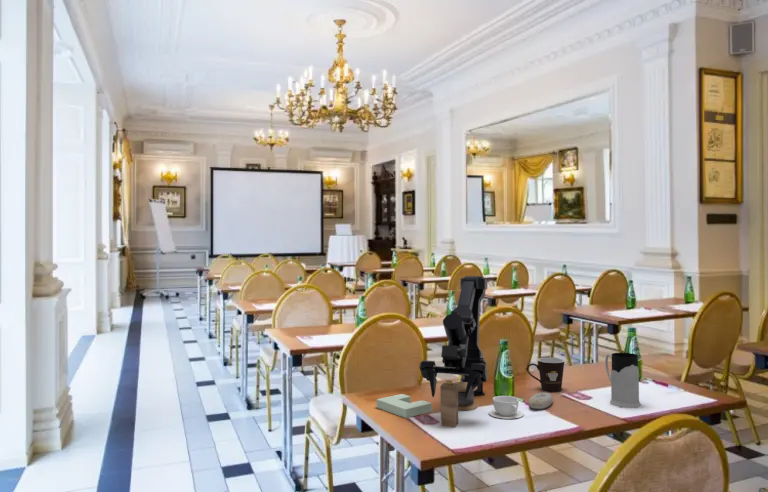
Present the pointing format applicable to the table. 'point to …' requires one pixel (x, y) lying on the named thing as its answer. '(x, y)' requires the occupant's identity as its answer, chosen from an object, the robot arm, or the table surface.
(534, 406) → the decorative stone
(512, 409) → the teacup
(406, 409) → the notched board
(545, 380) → the coffee mug
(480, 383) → the robot arm
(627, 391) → the glass holder
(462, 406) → the spool
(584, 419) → the table surface
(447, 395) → the tab block
